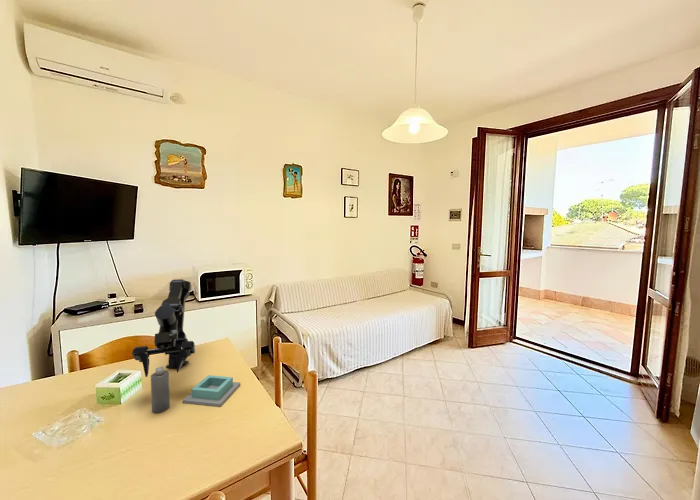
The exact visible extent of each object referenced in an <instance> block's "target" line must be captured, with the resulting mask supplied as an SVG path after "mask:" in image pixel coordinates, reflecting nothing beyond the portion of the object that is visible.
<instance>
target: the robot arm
mask: <svg viewBox="0 0 700 500" xmlns="http://www.w3.org/2000/svg"><path fill="white" fill-rule="evenodd" d="M168 291H169V292H168V296H167V298H165V299H164V300H163V301H162V302H161V304H160V306H159V307H158V308H157V309H156V310H155V311H154V316H155V319H156V321H157V324H158V325H159V331H158V333H155V334H154V338H153V339H154V341H153V343H154V347H156V348H149V347H148V345H142V346H134V348H133V349H132V352H131V355H132V356H133V357H132V358H133V359H134V360H135V361H138V362H139V363H142V366H143V371H144V377H145V378H147V377H149V369H150V355H159V354H164V355H168V364H167V365H166V366H165V368H167V369H176V373H179V371H180V370H181V368H183V367H184V366H186V365H187V364H188V363H189V360H187V358H188V357H190V356H191V355H194V354H195V352H196V346H195V342H194V341H193V340H188V338H187V335H186V333H185V332H184V322H185V321H184V320H185V319H184V318H185V307H186V300H187V299H188V297H189V296H190V293H191V291H192V283H191V281H187V280H185V279H172V280H171V281H170V282H169V289H168Z"/></svg>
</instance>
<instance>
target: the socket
mask: <svg viewBox="0 0 700 500" xmlns="http://www.w3.org/2000/svg"><path fill="white" fill-rule="evenodd" d="M240 386H241V382H236V381H234V377H232V376H222V375H209V374H207V376H206V377H204V378H203V379H202V380H201V381H200V382H198V383H197V384H196V385H195V386H193V387H192V388H191V392H190V393H189V394H188V395H187V396H186V397H185V398H183V399H182V404H190V405H191V404H192V405H197V406H198V405H199V406H200V405H201V406H209V407H218V408H219V407H220V408H221V407H222V406H223V404H225V403H226V402H227V400H228V399H229V398H230V397H231V396H232V395H233V394H234V392H235V391H237V389H239V387H240Z"/></svg>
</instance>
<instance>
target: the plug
mask: <svg viewBox="0 0 700 500" xmlns="http://www.w3.org/2000/svg"><path fill="white" fill-rule="evenodd" d="M169 372H170V371H169V370H165V367H164V366H159V367H156V368H155V372H154V373H152V374H151V375H150V394H151V396H150V397H151V401H150V402H151V413H153V414H161V413H163V412H166V411H167V410H168V409H170V377H169Z"/></svg>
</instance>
